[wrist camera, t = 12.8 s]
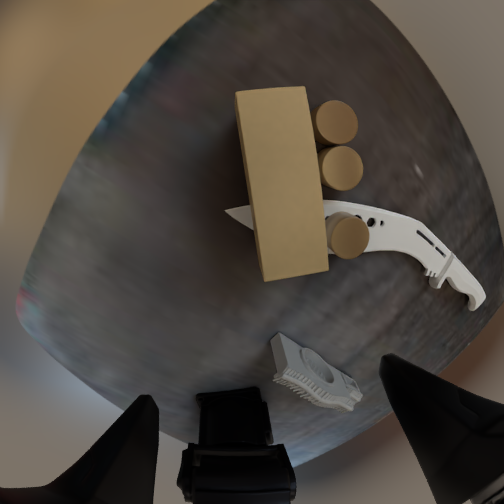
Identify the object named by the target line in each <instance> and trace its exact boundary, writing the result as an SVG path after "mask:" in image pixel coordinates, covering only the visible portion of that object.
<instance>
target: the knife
mask: <svg viewBox="0 0 504 504" xmlns="http://www.w3.org/2000/svg"><path fill="white" fill-rule="evenodd" d="M323 207H324V216H325V218H326V216H330V215H332V214H334V213H336V212H341V211H343V212H348V213H350V214H352V215H359V216H360V217H361V220H363V221H364V222H365V223H366V225H367V221H368V219H369V218H374V221H375V223H374V225H373V226H372V227H368V226H367V227H368V229H369V243H368V245H367V247H366V249H365V250H364V252H371V251H399V252H403V253H407V254H409V255H411V256H413V257H415V258H416V259H417V260H419V261H420V262H421V263H422V265H423V266H424V267H425V268H426V270H425V272H424V275H425V276H428V275H429V276H430V278H429V284H430V286H431V287H432V288H435V289H436V288H441V285H442V283H443V282H444V280H445V279H447V281H448V282H449V284H450V285H451V287H452V288H454V289H455V290H457V291H459V292H462V293H465V294H467V295H468V296H469V301H468V309H469V310H471V311H474V310H476V309H477V308H478V307H479V306H480V305H481V304H482V302H483V301H484V300H485V298H486V295H485V292H484V290H483V288H482V286H481V285H480V284H479V282H478V281H477V280H476V279H475V278H474V276H473V275H472V274H471V273H470V272H469V271H468V270H467V268H466V267H465V266H464V265H463V264H462V263H461V262H460V261H459V260H458V258H457V257H456V256H455V255H454V254H453V253H452V252H451V251H450V250H449V249H448V248H447V247H446V246H445V245H444V244H443V243H442V242H441V241H440V240H439V239H438V238H437V237H436V236H435V235H434V234H433V233H432V232H431V231H430V230H429V229H427V228H426V226H425V225H424V224H423V223H421V222H420V221H417V220H415V219H413V218H410V217H408V216H404V215H401V214H397V213H394V212H391V211H387V210H384V209H379V208H375V207H371V206H366V205H361V204H355V203H350V202H343V201H335V200H323ZM224 211H225V212H227V213H228V214H229V215H230V216H232V217H233V218H234V219H236V220H237V221H239V222H240V223H242V224H243V225H245V226H247V227H249V228H250V229H252V230H254V228H253V222H252V215H251V209H250V205H247V206H241V207H236V208H232V209H228V210H224ZM381 221H383V224H382V225H381V226H380V222H381ZM417 230H419V231H420V232H421V233H422V234H423V235H425V236H426V237H427V238H428V239H429V240H430V241H431V242H432V243H433V244H432V246H431V245H430V244H429V243H428V242H427V241H426V240H425V239H423V238H422V237H421V236H420V235H418V234H417V233H416V231H417ZM436 246H437V247H438V248H439V249H440V250H441V251H442V252H443V253H444V254H443V256H442V255H441V254H440V253H439V252H438V251H437V250H436V249H435V247H436ZM327 251H328V254H335V253H334V252H333V251H332V250H330V249H329V248H328V247H327Z"/></svg>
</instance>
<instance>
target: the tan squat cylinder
mask: <svg viewBox="0 0 504 504" xmlns="http://www.w3.org/2000/svg"><path fill="white" fill-rule="evenodd" d="M325 227H326V238H327V247H328V248H329V249H330V250H332V251H333V252H334V253H335V254H336V255H337V256H338V257H340V258H342V259H353V258H356V257H358V256H359V255H360V254H362V253H363V252H364V250H365V249H366V247H367V245H368V243H369V229H368V227H367V225H366V223H365V222H364V221H363V220H361V219H360V218H358V217H356V216H354V215H352V214H350V213H348V212H343V211H341V212H336V213H334V214H332V215H330V216H329V217H328V218H327V219H326V221H325Z"/></svg>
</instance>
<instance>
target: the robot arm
mask: <svg viewBox="0 0 504 504" xmlns="http://www.w3.org/2000/svg"><path fill="white" fill-rule="evenodd" d="M379 375H380V378H381V381H382V383H383V386H384V388H385V391H386V394H387V396H388V399H389V402H390V404H391V406H392V409H393V411H394V412H395V414H396V416H397V418H398V420H399V422H400V424H401V426H402V428H403V430H404V432H405V434H406V436H407V439H408V441H409V443H410V445H411V447H412V449H413V451H414V453H415V455H416V457H417V459H418V462H419V464H420V466H421V468H422V470H423V473H424V475H425V477H426V479H427V482H428V484H429V486H430V489H431V491H432V493H433V496H434V498H435V501H436V503H437V504H462V503H464V502H466V501H467V500H469V499H470V501H471V503H472V504H504V404H501V403H498V402H495V401H492V400H489V399H486V398H483V397H481V396H478V395H475V394H473V393H471V392H469V391H466V390H464V389H462V388H460V387H458V386H456V385H454V384H452V383H450V382H448V381H446V380H444V379H442V378H440V377H438V376H436V375H434V374H432V373H430V372H428V371H426V370H424V369H422V368H420V367H418V366H416V365H414V364H412V363H410V362H408V361H406V360H404V359H402V358H400V357H399V356H397V355H395V354H392V353H390V354H387V355H384V356H382V358H381V363H380V367H379ZM196 401H197V403H198V405H199V407H200V409H201V411H200V426H199V443H198V444H194V443H188V448H187V449H186V450H183V451H182V461H181V467H180V471H179V474H178V478H177V486H178V487H179V488H180V489H181V490H182V493H183V495H184V498H185V501H186V502H193V504H291V503H290V501H293V500H294V499H295V496H296V478H295V474H294V470H293V468H292V465H291V463H290V460H289V457H288V455H287V452H286V449H285V447H284V444H277V445H270V444H273V442H274V441H273V435H272V429H271V423H270V417H269V412H268V406H267V402H265V401H263V402H262V399H261V394H260V389H259V388H256V387H254V388H247V389H239V390H231V391H222V392H212V393H200V394H197V395H196ZM158 446H159V409H158V406H157V405H156V403H155V401H154V400H153V398H152V396H151V395H140V396H139V397H138V398H137V399H136V400H135V401H134V402H133V403H132V404H131V405H130V406H129V407H128V408H127V409H126V410H125V412H124V413H123V414H122V415H121V416H120V417H119V418H118V419H117V420H116V421H115V422H114V423H113V424H112V425H111V427H110V428H109V429H108V430H107V431H106V432H105V433H104V434H103V435H102V436H101V437H100V438H99V439H98V440H97V441H96V442H95V443H94V445H93V446H92V447H91V448H90V449H89V450H88V451H87V452H86V453H85V454H84V455H83V456H82V457H81V458H80V459H79V460H78V461H77V462H76V463H74V464H73V465H72V466H71V467H70V468H69V469H67V470H66V471H65V472H64V473H62V474H61V475H60V476H59V477H57V478H56V479H55V480H54V481H52V482H51V483H49V484H47V485H45V486H41V487H30V488H29V487H28V488H1V487H0V504H153V496H154V484H155V473H156V464H157V455H158Z"/></svg>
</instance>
